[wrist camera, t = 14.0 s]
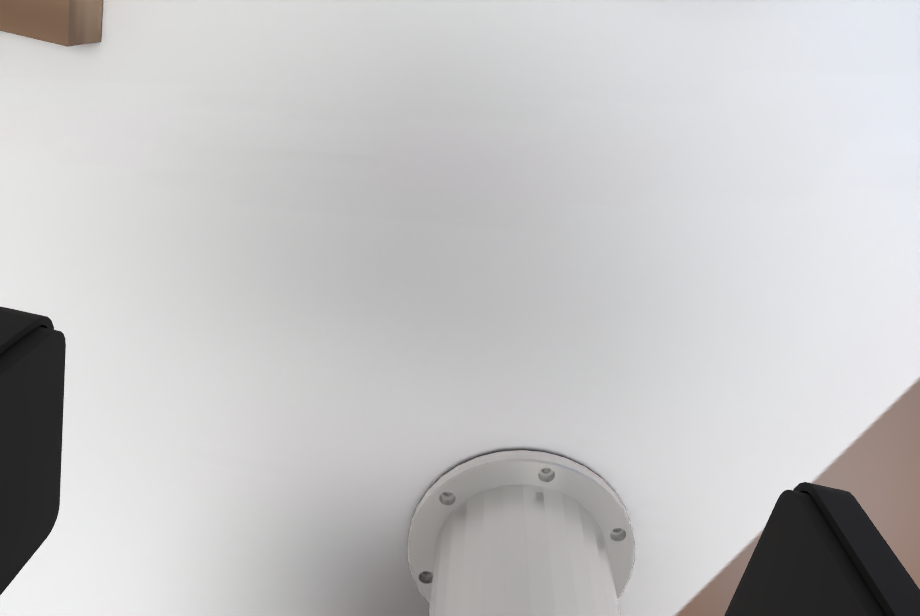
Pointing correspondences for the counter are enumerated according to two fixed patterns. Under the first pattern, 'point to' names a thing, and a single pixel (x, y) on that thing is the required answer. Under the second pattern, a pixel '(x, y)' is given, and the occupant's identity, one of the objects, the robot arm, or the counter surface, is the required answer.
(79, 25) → the frame
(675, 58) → the counter surface
